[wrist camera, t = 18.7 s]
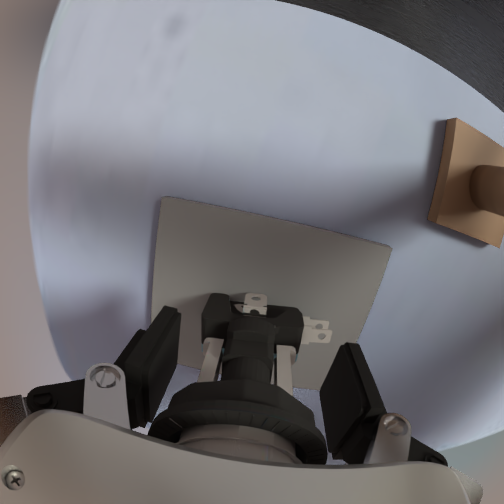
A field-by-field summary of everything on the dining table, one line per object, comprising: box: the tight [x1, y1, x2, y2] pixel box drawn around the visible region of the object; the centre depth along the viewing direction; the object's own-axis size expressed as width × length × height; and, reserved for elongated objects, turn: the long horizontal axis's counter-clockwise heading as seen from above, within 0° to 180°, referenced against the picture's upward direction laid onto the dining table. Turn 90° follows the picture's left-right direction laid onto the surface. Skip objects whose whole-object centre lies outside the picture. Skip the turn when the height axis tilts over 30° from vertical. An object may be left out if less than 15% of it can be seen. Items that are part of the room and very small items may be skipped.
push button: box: [148, 293, 332, 465], centre depth 10 cm, size 7×5×10 cm
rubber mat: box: [151, 196, 392, 390], centre depth 15 cm, size 12×10×1 cm
